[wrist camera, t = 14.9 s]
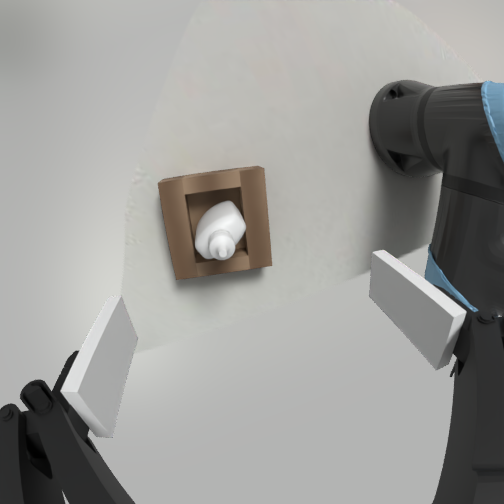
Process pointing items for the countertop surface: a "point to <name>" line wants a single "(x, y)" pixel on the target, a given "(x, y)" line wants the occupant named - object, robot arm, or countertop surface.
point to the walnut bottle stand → (199, 202)
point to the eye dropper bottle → (219, 231)
